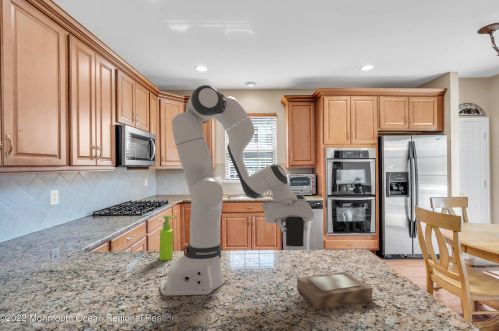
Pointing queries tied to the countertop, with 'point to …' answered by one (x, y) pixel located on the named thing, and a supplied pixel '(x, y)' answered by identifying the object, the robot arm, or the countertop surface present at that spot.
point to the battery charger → (294, 230)
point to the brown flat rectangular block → (333, 290)
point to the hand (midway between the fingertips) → (294, 230)
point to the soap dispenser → (166, 240)
